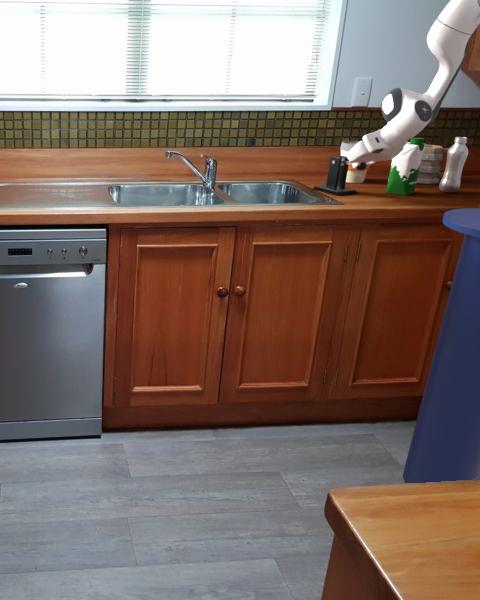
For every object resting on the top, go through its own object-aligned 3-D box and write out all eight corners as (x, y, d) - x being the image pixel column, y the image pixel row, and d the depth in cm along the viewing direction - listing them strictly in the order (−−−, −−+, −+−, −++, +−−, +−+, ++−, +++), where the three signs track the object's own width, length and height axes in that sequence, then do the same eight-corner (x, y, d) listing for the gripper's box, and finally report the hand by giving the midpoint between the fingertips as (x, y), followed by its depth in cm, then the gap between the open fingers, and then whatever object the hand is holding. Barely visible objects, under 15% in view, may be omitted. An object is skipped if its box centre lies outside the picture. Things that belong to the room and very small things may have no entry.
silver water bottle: (442, 189, 231) (454, 135, 224) (461, 192, 226) (475, 137, 219) (434, 191, 227) (447, 137, 220) (454, 194, 223) (468, 139, 215)
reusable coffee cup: (328, 178, 251) (334, 141, 245) (356, 177, 253) (363, 140, 247) (346, 184, 239) (353, 145, 233) (375, 183, 241) (382, 144, 236)
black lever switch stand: (356, 193, 223) (362, 158, 219) (337, 195, 220) (343, 159, 215) (331, 187, 234) (337, 153, 229) (313, 189, 230) (318, 154, 225)
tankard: (404, 182, 243) (412, 144, 238) (401, 177, 254) (409, 140, 248) (461, 186, 236) (470, 147, 231) (456, 181, 247) (465, 143, 241)
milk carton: (407, 196, 219) (419, 139, 212) (382, 192, 226) (393, 137, 218) (417, 193, 225) (429, 137, 217) (392, 189, 231) (403, 135, 224)
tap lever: (368, 170, 214) (370, 160, 212) (360, 171, 212) (362, 160, 211) (339, 165, 225) (341, 155, 224) (332, 166, 224) (333, 156, 223)
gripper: (405, 132, 208) (376, 156, 220) (361, 134, 200) (334, 160, 212) (414, 147, 206) (384, 171, 218) (369, 150, 198) (341, 175, 210)
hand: (359, 165), depth 215 cm, fingers closed on tap lever, 3 cm apart
